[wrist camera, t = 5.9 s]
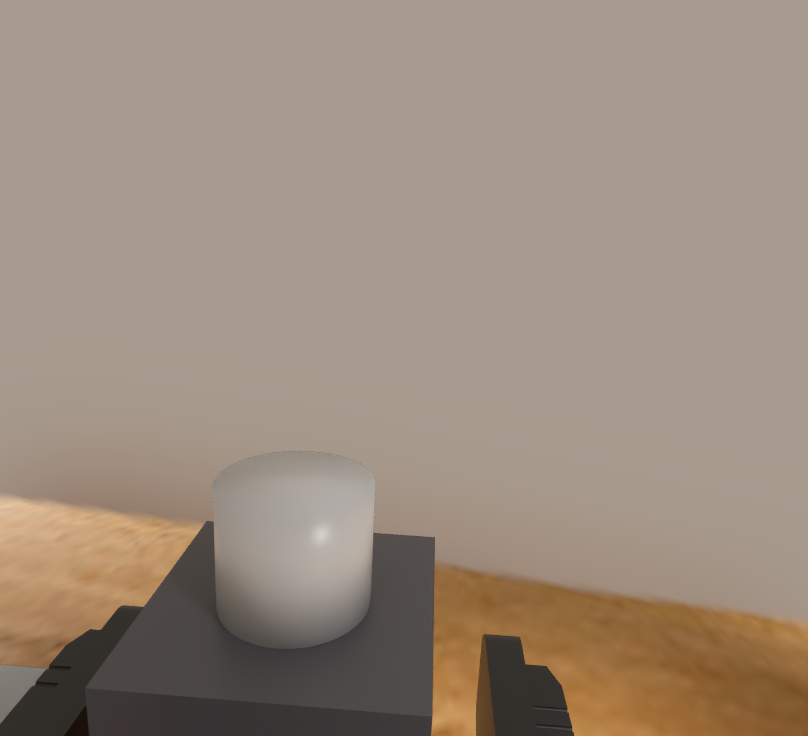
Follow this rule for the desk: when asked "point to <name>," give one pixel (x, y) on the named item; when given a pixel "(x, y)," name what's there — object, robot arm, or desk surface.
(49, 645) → the desk surface
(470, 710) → the desk surface
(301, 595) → the cable plug
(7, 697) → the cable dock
